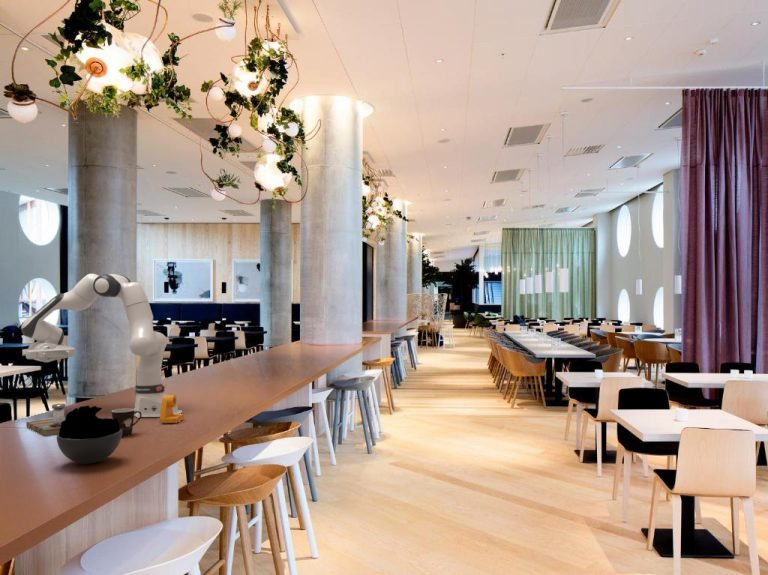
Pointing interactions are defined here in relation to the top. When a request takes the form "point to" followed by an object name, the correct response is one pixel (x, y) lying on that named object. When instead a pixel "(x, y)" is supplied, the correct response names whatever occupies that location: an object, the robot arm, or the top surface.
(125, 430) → the coffee mug
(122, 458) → the top surface
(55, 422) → the glass spice jar
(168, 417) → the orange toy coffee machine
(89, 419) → the bowl of black rocks
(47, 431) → the hole board
